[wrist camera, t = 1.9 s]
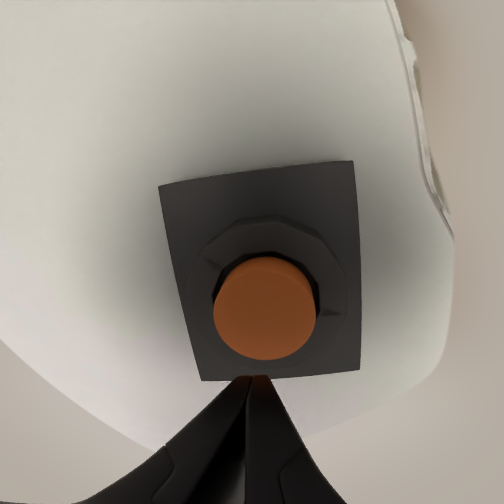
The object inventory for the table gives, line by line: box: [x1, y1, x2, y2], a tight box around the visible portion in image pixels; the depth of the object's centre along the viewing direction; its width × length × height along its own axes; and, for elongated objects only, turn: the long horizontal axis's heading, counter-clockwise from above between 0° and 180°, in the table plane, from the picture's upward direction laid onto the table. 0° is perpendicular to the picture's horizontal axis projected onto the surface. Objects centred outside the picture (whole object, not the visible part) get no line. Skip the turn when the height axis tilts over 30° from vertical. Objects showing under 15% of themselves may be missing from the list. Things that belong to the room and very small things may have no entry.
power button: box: [213, 257, 316, 360], centre depth 13 cm, size 4×4×2 cm
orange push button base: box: [158, 160, 362, 381], centre depth 15 cm, size 11×9×4 cm
